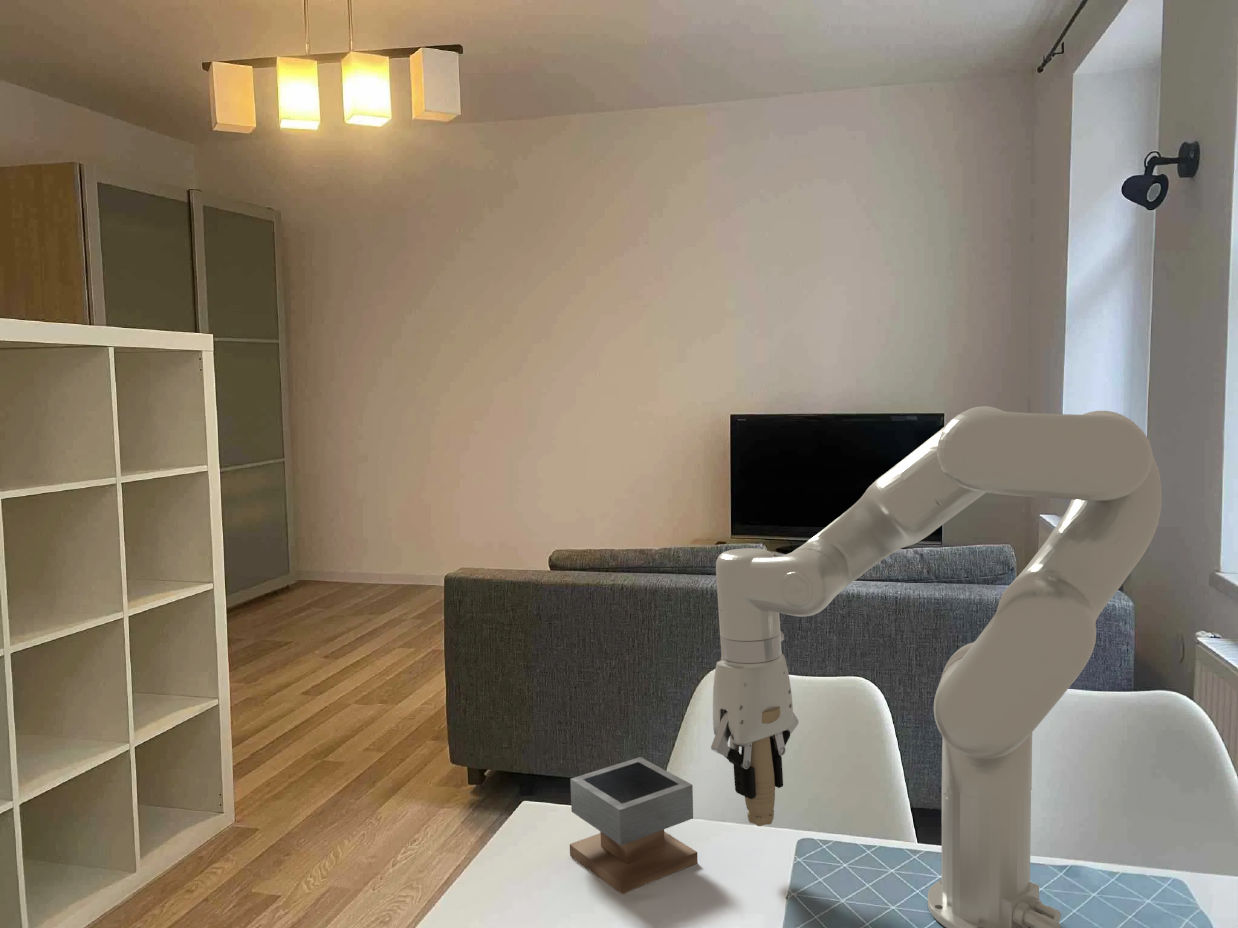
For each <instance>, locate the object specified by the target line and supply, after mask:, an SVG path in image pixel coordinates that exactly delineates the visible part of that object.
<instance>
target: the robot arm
mask: <svg viewBox="0 0 1238 928" xmlns="http://www.w3.org/2000/svg"><path fill="white" fill-rule="evenodd" d="M1155 459H1156V458H1155V457H1154V454H1153V449H1152V446H1151V442H1150V440H1149V438H1148V437H1147V435H1146V434H1145V432H1144V430H1142V429H1141V428H1140V426H1138V425H1137V424H1136V423H1135V422H1134V421H1133V420H1132V419H1130V418H1128V417H1126V416H1125V415H1123V414H1121V413H1118V412H1115V411H1110V410H1094V411H1089V412H1086V413H1083V414H1071V413H1070V414H1065V413H1063V414H1061V413H1060V414H1059V413H1058V414H1057V413H1036V412H1035V413H1032V412H1016V411H1005V410H1002V409H1000V408H997V407H994V406H989V405H988V406H987V405H984V406H983V405H982V406H975V407H972V408H969V409H967V410H965V411H963V412H961V413H959V414H957V415H956V416H954V417H953V418H952V419H950V421H948V422H947V424H946V425H945V426H943V427H942V428H941V429H940V430H939V431H937V432H936V433H934V435H932V436H931V437H930V438H928V439H927V440H926V441H924V442H923V443H922V444H921V445H919V446H918V447H917V448H916V449H914V450H913V451H912V452H910V453H909V454H908V455H907V456H905V457H904V458H903V459H901V461H899V462H898V463H896V464H895V465H894V466H893V467H891V468H890V469H889V470H888V471H886V472H885V473H884V474H881V476H879V477H878V478H877V479H875V481H874V482H872V484H871V485H869V486H868V488H867V489H866V490H865V492H864V493H863V494H862V496H861V497H860V498H859V499H858V500H857V501H856V502H855V503H854V504H853V505H851V507H849V508H848V509H847V510H846V511H844V512H843V513H842V514H841V515H840V516H838V517H837V518H836V519H834V520H833V521H832V522H830V523H829V524H828V525H827V526H826V527H824V528H823V529H822V530H821V531H819V532H817V534H815V535H814V536H813V537H811V538H810V539H808V540H807V541H806V542H805V543H803V544H802V545H800V546H799V547H797V548H796V549H794V550H793V551H792V552H789V553H786V554H784V555H781V556H775V555H774V553H772V552H771V551H770V550H766V549H764V548H757V547H754V548H753V547H750V548H749V547H747V548H746V547H743V548H735V549H730V550H726V551H723V552H722V553H721V554H719V556H717V559H716V563H715V575H716V576H715V577H716V591H717V607H718V620H719V621H718V622H719V638H720V641H719V642H720V654H721V657H720V658H721V660H719V661H717V662H716V665H715V670H714V677H713V689H712V727H713V728H712V729H713V734H714V738H713V741H712V744H711V747H710V749H711V751H713V752H714V753H717V754H718V755H721V756H723V757H724V758H726V759H727V760H728V762H729V764H733V778H734V779H733V780H734V789H735V792H736V793H737V794H739V795H741V796H743V797H744V798H745V797H747V798H749V799H753V798H755V796H756V787H755V770H754V767H751V766H750V762H751V749H752V743H753V742H756V741H759V740H762V739H764V738H767V737H770V745H771V754H772V761H773V769H774V778H775V788H778V789H780V788H782V787H784V777H783V776H784V774H783V773H784V772H783V758H782V756H785V754H786V750H787V749H786V746H787V743H788V741H789V740H790V738H791V734H792V733H793V732H794V730H795V729H796V728H797V727H798V725H799V722H800V721H799V719H798V717H797V716H796V714H795V712H794V705H793V693H792V688H791V679H790V674H789V670H788V666H787V661H786V658H785V655H784V654H783V652H782V642H783V641H784V640H785V635H784V633H783V631H781V622H780V621H781V620H780V614H784V615H788V616H794V617H811V616H814V615H816V614H818V613H821V612H822V611H823V610H825V608H827V607H828V606H829V604H830V603H831V602H832V601H833V600H834V599H835V598H836V597H837V595H839V594H840V593H841V592H842V591H843V590H845V589H846V588H847V587H848V586H850V584H852V583H854V582H855V581H856V580H857V579H859V578H860V577H861V576H862V575H864V574H866V573H867V572H868V571H869V570H871V569H872V568H873V567H874V566H876V565H878V564H879V563H880V562H881V561H883V560H884V559H886V558H887V557H889V556H890V555H892V554H894V553H895V552H897V551H898V550H900V549H903V548H905V547H908V546H909V547H910V546H912V545H915V544H917V543H919V542H920V541H922V540H923V539H925V538H927V537H928V536H930V535H931V534H932V533H934V532H935V531H936V530H937V529H939V528H940V527H941V526H943V525H944V524H945V523H947V522H948V521H950V520H951V519H952V518H954V517H955V516H957V514H959V513H961V511H963V510H964V509H966V508H967V507H968V506H970V505H971V504H972V503H974V502H976V500H978V499H979V498H981V497H982V496H983V495H985V494H987V493H988V494H989V493H990V494H998V495H1005V496H1017V497H1019V496H1020V497H1033V498H1035V497H1036V498H1046V499H1047V498H1048V499H1059V500H1061V499H1063V500H1071V501H1070V502H1069V505H1068V507H1067V509H1066V511H1065V513H1064V514H1063V516H1062V517H1061V519H1060V520H1059V521H1058V523H1057V524H1056V526H1055V527H1054V528H1053V530H1052V531H1051V533H1050V535H1049V536H1048V538H1047V539H1046V541H1044V543H1043V544H1042V545H1041V547H1040V548H1039V550H1038V551H1037V552H1036V553H1035V555H1034V556H1032V557H1033V558H1031V560H1030V561H1029V563H1028V564H1027V565H1026V566H1025V568H1024V569H1023V570H1021V572H1020V574H1018V576H1017V577H1016V578H1015V579H1014V580H1013V581H1012V582H1011V583H1010V584H1009V585H1008V586H1007V587H1006V588H1005V590H1004V592H1003V593H1002V595H1001V597H1000V600H999V602H998V605H997V608H996V612H995V613H994V615H993V616H992V618H991V619H990V621H989V622H988V624H987V625H986V626H985V628H984V629H983V630H982V632H981V633H980V634H979V636H978V637H977V638H976V639H975V641H973V642H970V643H967V644H965V645H964V646H961V647H960V648H959V649H957V651H955V652H954V653H953V654H952V655H951V656H950V658H949V659H948V660H947V662H946V664H945V666H944V668H943V672H942V673H941V676H940V680H939V683H938V685H937V689H936V691H935V695H934V701H933V716H934V720H935V725H936V726H937V729H938V732H939V734H940V735H941V737H942V741H941V743H942V744H941V745H942V748H941V753H942V754H941V879H940V880H939V881H938V880H937V881H936V882H935V883H933V885H931V887H930V888H929V890H928V892H927V908H928V910H929V913H930V914H931V915H932V916H933V918H934V919H935V920H936V921H937V922H938V923H939V924H941V925H942V926H943V927H945V928H1061V924H1060V921H1061V919H1062V912H1061V911H1060V910H1058V909H1056V908H1054V907H1052V906H1050V905H1046V904H1044V903H1043V902H1042V900H1040V886H1039V884H1036V883H1034V882H1031V832H1032V831H1031V824H1032V823H1031V817H1032V816H1031V815H1032V813H1031V812H1032V809H1031V808H1032V802H1031V801H1032V786H1033V783H1032V781H1033V778H1032V777H1033V774H1032V773H1033V763H1032V762H1033V732H1034V731H1035V729H1036V728H1038V726H1039V725H1040V724H1041V722H1042V721H1043V720H1044V719H1045V718H1046V716H1048V714H1049V713H1050V712H1051V711H1052V709H1053V708H1054V707H1055V705H1057V703H1058V702H1059V701H1060V700H1061V698H1062V697H1063V696H1064V695H1065V693H1067V691H1068V690H1069V688H1070V687H1071V686H1072V685H1073V684H1074V682H1075V681H1076V680H1077V678H1079V676H1080V675H1081V673H1082V671H1083V670H1084V669H1085V668H1086V665H1087V663H1088V662H1089V660H1090V658H1091V657H1092V654H1093V652H1094V649H1095V647H1096V646H1095V645H1096V640H1097V625H1096V623H1097V620H1098V618H1099V616H1100V615H1101V613H1102V612H1103V610H1104V609H1105V608H1106V606H1107V605H1108V604H1109V602H1110V601H1111V600H1112V598H1113V597H1114V596H1115V594H1116V593H1117V592H1118V590H1119V589H1120V588H1121V587H1122V585H1123V583H1124V582H1125V581H1126V579H1127V578H1128V576H1129V575H1130V574H1131V573H1132V571H1133V570H1134V569H1135V568H1136V566H1137V564H1138V563H1139V561H1140V560H1141V558H1142V557H1143V556H1144V554H1145V553H1146V551H1147V549H1148V547H1149V546H1150V545H1151V542H1152V540H1153V538H1154V535H1155V533H1156V532H1157V531H1156V530H1157V527H1158V525H1159V521H1160V516H1161V512H1162V494H1163V493H1162V492H1163V491H1162V482H1161V475H1160V471H1159V467H1158V464H1157V462H1156V460H1155ZM777 707H780V717H779V718H778V719H777V720H776V721H774V722H772V723H770V724H766V723H764V724H762V721H761V720H762V713H763V712H766V711H769V710H772V709H775V708H777ZM728 743H729V745H728ZM740 747H741V752H740Z"/></svg>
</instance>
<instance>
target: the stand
mask: <svg viewBox="0 0 1238 928" xmlns="http://www.w3.org/2000/svg"><path fill="white" fill-rule="evenodd" d="M569 856H571V857H572V858H573V859H575V860H576V861H577V862H578V863H580V864H582V866H584V867H585V868H587V870H589V871H590V872H592V873H593V874H594V875H596V876H597V877H598V878H600V879H601V880H602V881H603V882H605V883H606V884H608V885H609V886H611V888H613V889H614V890H616V891H617V892H618V893H620V895H624V894H626V893H629V892H631V891H633V890H635V889H638V888H640V887H643V886H645V885H648V884H650V883H653V882H655V881H657V880H660V879H662V878H664V877H667V876H669V875H672V874H674V873H677V872H680V871H682V870H685V869H687V868H689V867H691V866H694V865H696V864H698V862H699V861H698V851H696V850H695V849H693V848H692V847H690V846H688V845H687V844H685V843H684V842H682V841H680V840H679V839H677V838H675V837H674V836H673V835H671V834H669V833H668V832H666V831H665V829H664V830H661V831H658V832H656V833H653V834H650V835H648V836H645V837H642V838H640V839H637V840H634V841H632V842H629V843H626V844H624V845H619V844H618V843H616V842H615V841H614V840H612V839H611V838H609V837H608V836H606V835H605V834H603V833H602V832H600V831H599V833H596V834H594V835H591V836H589V837H585V838H583V839H579V840H577V841H575V842H572V843H569Z"/></svg>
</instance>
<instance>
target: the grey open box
mask: <svg viewBox="0 0 1238 928" xmlns="http://www.w3.org/2000/svg"><path fill="white" fill-rule="evenodd" d="M569 780H570V805H571V807H570V808H571V812H572V813H573V814H574V815H576V816H577V817H579V818H580V819H581V820H583V821H584V822H586V823H588V824H589V825H591V826H592V827H593V828H595V829H596V830H598V831H599V833H600V832H602V833H603V834H605V835H606V836H608V837H609V838H611V839H612V840H614V841H615V842H616V843H618V844H619V845H624V844H626V843H629V842H632V841H634V840H637V839H640V838H642V837H645V836H648V835H650V834H653V833H656V832H658V831H661V830H664V831H665V829H669V828H672V827H674V826H676V825H680V824H682V823H685V822H688V821H690V820H692V819H694V796H693V794H694V793H693V791H694V790H693V789H694V788H693V784H692V783H690V782H688V781H687V780H685V779H683V778H681V777H678V776H677V775H675V774H673V773H671V772H669V771H667V770H665V768H664V769H663V768H661V767H660V766H659V765H657V764H654V763H652V762H651V761H649V760H647V759H645V758H644V757H641V756H639V757H636V758H633V759H629V760H626V761H622V762H620V763H616V764H613V765H610V766H607V767H604V768H601V769H598V770H593V771H591V772H588V773H585V774H581V775H578V776H575V777H572V778H570V779H569Z"/></svg>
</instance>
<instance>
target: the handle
mask: <svg viewBox="0 0 1238 928" xmlns="http://www.w3.org/2000/svg"><path fill="white" fill-rule="evenodd" d="M779 717H780V707H777V708H775V709H772V710H769V711H766V712H763V713H762V720H761V721H762V724H764V723H766V724H770V723H772V722H774V721H776V720H777V719H778V718H779ZM750 766H751V767H754V770H755V787H756V796H755V798H753V799H749V798H747V797H745V796H744V801H745V805H746V809H747V811H748V812H746V814H747V820H748V822H749V823H750V824H753V825H756V826H757V827H762V826H766V825H771V824H772V823H773V820H774V818H775V817H774V816H775V810H774V809H775V802H776V801H775V799H776V787H775V778H774V769H773V761H772V754H771V745H770V737H767V738H764V739H762V740H759V741H756V742H753V743H752V749H751V762H750Z"/></svg>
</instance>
